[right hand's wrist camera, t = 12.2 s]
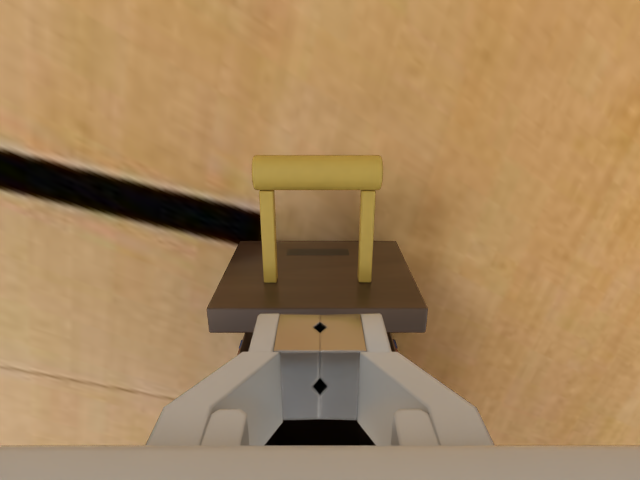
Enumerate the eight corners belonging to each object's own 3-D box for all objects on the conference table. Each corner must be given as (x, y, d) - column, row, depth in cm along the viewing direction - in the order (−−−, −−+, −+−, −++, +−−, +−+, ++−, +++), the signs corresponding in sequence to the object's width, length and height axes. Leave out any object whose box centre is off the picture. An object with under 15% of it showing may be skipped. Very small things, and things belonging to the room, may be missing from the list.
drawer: (232, 139, 22) (190, 167, 15) (403, 139, 22) (443, 167, 15) (254, 445, 30) (234, 561, 23) (381, 445, 30) (401, 561, 23)
